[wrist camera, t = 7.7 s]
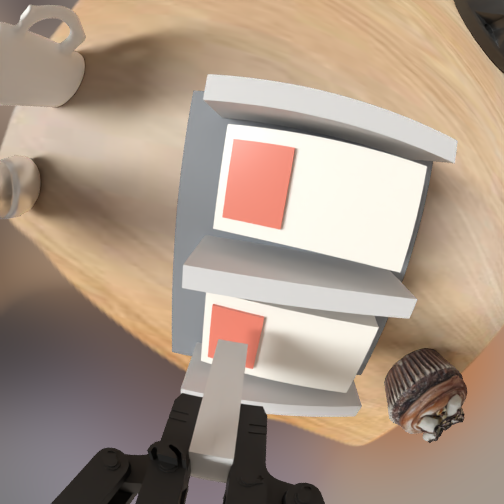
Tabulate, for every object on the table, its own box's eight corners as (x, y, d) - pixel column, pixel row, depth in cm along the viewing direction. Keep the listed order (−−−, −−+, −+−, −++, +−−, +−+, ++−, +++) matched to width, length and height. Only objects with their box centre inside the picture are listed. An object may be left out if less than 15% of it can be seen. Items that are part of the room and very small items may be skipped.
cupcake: (424, 329, 24) (467, 389, 15) (452, 359, 26) (486, 409, 17) (363, 383, 27) (385, 451, 18) (400, 405, 29) (422, 459, 19)
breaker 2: (373, 314, 15) (379, 329, 13) (345, 378, 17) (346, 395, 15) (214, 279, 17) (205, 291, 15) (208, 348, 18) (200, 362, 17)
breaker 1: (417, 166, 12) (428, 166, 10) (393, 263, 14) (400, 274, 12) (237, 128, 14) (226, 123, 12) (223, 223, 16) (211, 229, 14)
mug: (49, 123, 19) (-43, 124, 8) (37, 80, 17) (-43, 70, 6) (122, 57, 17) (35, 12, 6) (104, 18, 15) (31, -27, 4)
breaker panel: (402, 146, 19) (482, 147, 9) (348, 341, 25) (376, 417, 16) (209, 105, 19) (165, 66, 9) (187, 319, 25) (153, 395, 15)
